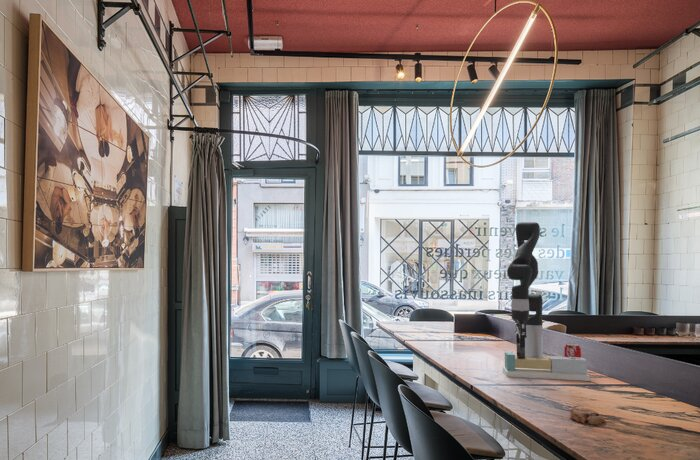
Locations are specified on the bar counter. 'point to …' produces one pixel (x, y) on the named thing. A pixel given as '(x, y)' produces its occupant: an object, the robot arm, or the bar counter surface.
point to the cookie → (586, 416)
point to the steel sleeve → (568, 365)
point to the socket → (509, 361)
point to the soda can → (572, 350)
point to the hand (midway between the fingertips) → (520, 345)
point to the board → (544, 374)
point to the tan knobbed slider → (531, 361)
